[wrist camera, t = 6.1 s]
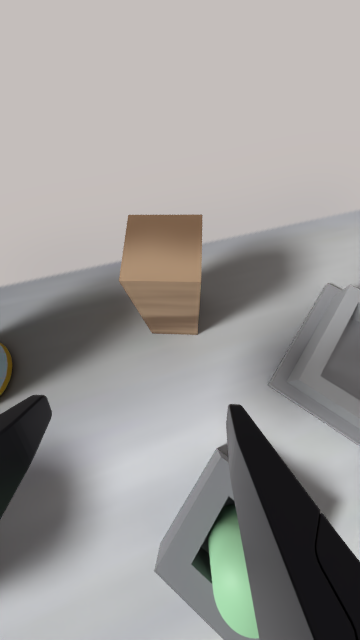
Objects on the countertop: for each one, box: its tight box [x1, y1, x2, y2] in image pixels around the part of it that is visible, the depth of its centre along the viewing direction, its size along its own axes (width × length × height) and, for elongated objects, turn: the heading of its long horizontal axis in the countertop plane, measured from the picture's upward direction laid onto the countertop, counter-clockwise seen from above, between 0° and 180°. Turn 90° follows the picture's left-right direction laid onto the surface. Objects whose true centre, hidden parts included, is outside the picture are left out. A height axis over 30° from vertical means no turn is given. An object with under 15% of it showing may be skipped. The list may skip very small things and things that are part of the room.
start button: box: [208, 505, 259, 639], centre depth 15 cm, size 4×4×5 cm
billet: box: [119, 215, 202, 335], centre depth 18 cm, size 4×4×11 cm
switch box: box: [154, 449, 259, 640], centre depth 16 cm, size 8×8×3 cm
